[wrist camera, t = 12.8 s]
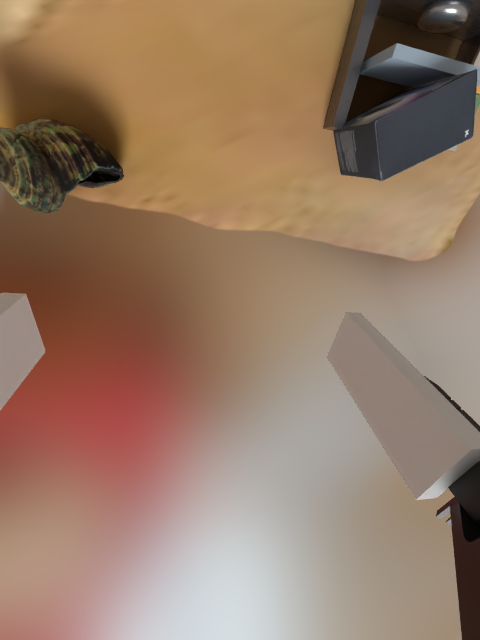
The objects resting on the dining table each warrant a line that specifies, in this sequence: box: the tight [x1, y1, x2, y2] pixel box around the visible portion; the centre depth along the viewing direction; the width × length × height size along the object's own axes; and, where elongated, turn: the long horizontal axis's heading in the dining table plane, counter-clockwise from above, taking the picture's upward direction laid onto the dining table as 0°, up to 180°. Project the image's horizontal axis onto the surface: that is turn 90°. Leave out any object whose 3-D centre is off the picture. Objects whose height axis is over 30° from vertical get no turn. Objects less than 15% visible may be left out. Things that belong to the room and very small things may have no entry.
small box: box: [333, 69, 478, 181], centre depth 31 cm, size 11×6×10 cm, turn 114°
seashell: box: [0, 119, 124, 213], centre depth 29 cm, size 11×11×10 cm
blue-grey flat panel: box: [360, 43, 480, 94], centre depth 29 cm, size 1×16×7 cm, turn 82°
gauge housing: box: [323, 0, 480, 151], centre depth 28 cm, size 18×18×7 cm
